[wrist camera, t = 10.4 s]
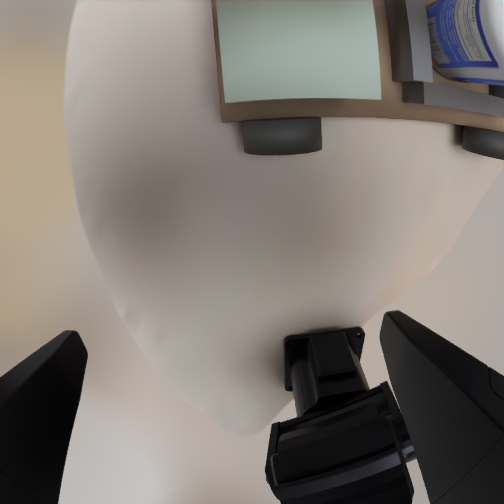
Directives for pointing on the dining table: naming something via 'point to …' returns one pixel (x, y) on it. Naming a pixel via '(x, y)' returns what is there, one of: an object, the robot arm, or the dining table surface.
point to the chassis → (339, 72)
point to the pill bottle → (467, 40)
